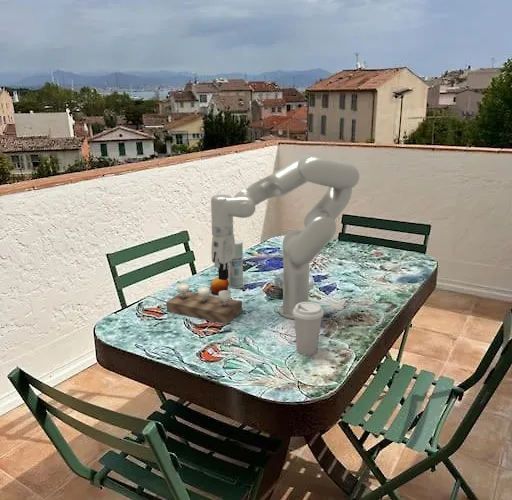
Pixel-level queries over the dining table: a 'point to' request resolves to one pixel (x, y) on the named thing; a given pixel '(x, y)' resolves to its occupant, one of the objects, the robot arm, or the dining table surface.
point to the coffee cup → (307, 326)
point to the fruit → (218, 285)
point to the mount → (204, 307)
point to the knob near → (224, 296)
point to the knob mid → (203, 293)
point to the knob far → (183, 289)
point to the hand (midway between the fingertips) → (223, 279)
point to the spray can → (236, 267)
